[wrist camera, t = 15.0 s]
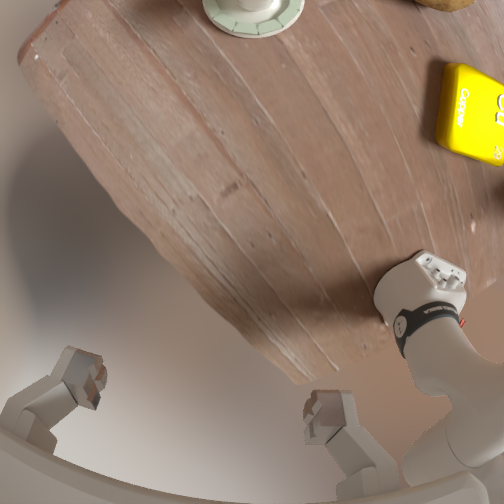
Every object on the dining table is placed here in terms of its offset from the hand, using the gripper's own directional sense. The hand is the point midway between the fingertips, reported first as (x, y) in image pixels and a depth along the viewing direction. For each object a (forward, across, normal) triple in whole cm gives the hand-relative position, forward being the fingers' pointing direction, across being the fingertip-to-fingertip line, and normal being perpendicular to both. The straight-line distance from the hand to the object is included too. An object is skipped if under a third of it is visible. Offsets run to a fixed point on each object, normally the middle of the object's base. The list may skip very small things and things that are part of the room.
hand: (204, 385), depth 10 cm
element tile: (+38, -35, -17) cm, 54 cm away
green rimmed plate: (+37, +3, -24) cm, 44 cm away
